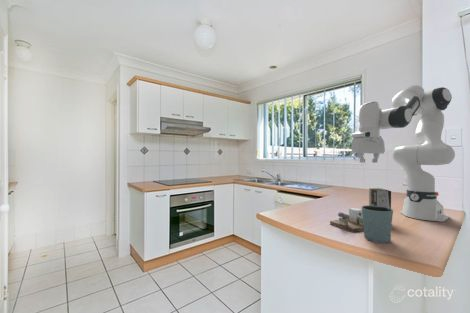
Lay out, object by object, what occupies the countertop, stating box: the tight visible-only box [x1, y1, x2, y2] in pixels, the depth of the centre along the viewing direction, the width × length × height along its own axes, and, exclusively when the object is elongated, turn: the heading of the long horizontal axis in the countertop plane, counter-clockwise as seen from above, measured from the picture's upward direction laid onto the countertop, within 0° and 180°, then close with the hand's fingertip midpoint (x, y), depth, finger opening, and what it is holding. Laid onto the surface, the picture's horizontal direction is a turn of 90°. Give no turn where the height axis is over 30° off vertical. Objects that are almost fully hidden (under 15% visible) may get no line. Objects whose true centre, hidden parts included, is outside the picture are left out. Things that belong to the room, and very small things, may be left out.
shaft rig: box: [329, 211, 364, 233], centre depth 100 cm, size 21×12×7 cm, turn 115°
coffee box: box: [368, 187, 392, 209], centre depth 106 cm, size 9×6×16 cm
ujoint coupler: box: [348, 207, 363, 224], centre depth 100 cm, size 4×5×6 cm
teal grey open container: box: [361, 204, 394, 244], centre depth 84 cm, size 10×10×12 cm
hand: (368, 162), depth 107 cm, fingers open, 8 cm apart
